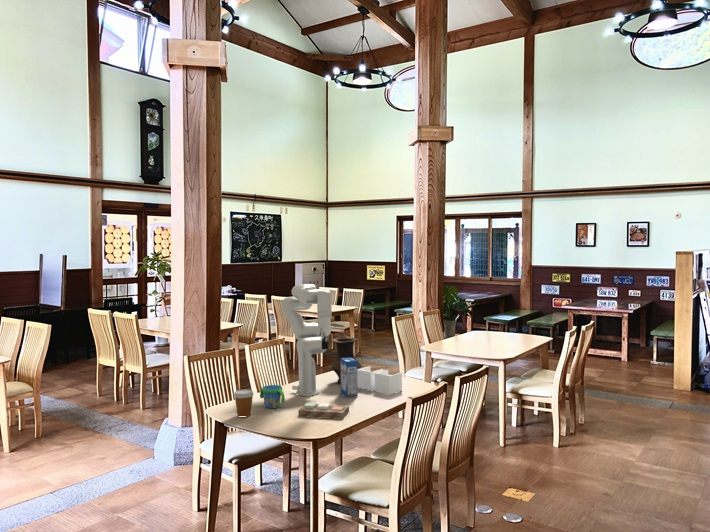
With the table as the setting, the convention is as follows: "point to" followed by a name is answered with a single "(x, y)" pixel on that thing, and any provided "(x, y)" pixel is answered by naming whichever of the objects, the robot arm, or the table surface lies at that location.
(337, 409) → the terracotta button
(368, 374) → the storage container
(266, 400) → the snack cup
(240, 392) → the disposable coffee cup
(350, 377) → the milk carton
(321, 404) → the cream button
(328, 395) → the table surface
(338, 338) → the jug
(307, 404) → the sage button
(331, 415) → the tray
